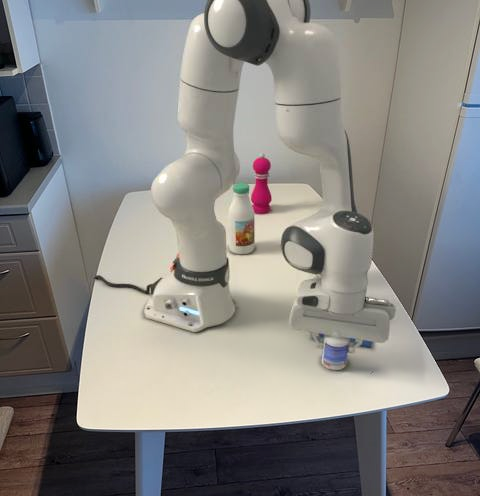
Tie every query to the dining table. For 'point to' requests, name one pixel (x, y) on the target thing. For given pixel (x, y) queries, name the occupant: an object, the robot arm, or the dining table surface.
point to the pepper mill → (261, 185)
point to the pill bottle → (335, 351)
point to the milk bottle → (241, 221)
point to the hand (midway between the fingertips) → (335, 349)
